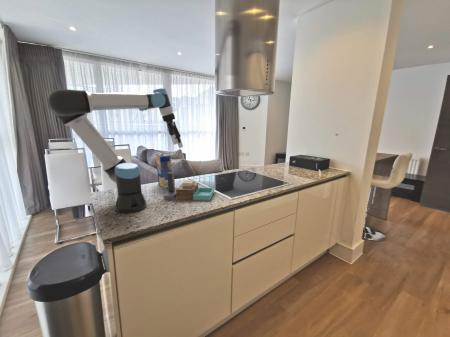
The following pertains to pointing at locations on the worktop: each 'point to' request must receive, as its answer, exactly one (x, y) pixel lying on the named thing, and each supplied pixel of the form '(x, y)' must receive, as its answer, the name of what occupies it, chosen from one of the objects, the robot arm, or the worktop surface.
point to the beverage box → (163, 169)
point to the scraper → (171, 187)
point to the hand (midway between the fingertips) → (178, 145)
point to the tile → (188, 184)
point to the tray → (203, 194)
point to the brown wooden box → (186, 192)
